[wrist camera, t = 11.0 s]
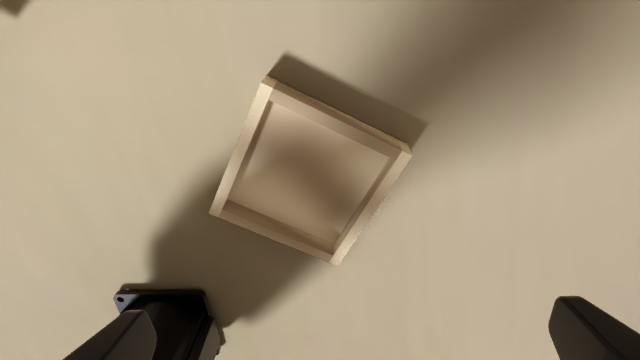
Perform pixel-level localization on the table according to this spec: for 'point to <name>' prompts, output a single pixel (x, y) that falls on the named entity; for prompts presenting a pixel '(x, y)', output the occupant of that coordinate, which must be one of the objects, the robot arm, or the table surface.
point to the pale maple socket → (307, 173)
